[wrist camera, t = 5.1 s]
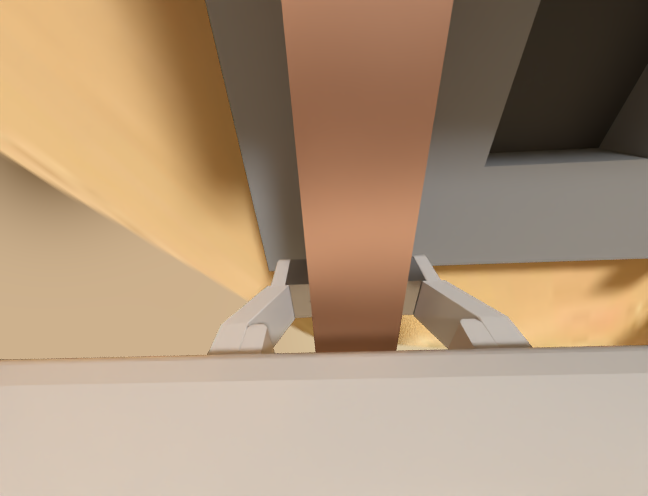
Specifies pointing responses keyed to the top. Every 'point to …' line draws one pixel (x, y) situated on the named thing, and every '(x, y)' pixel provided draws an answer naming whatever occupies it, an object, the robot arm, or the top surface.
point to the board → (480, 131)
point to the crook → (362, 154)
